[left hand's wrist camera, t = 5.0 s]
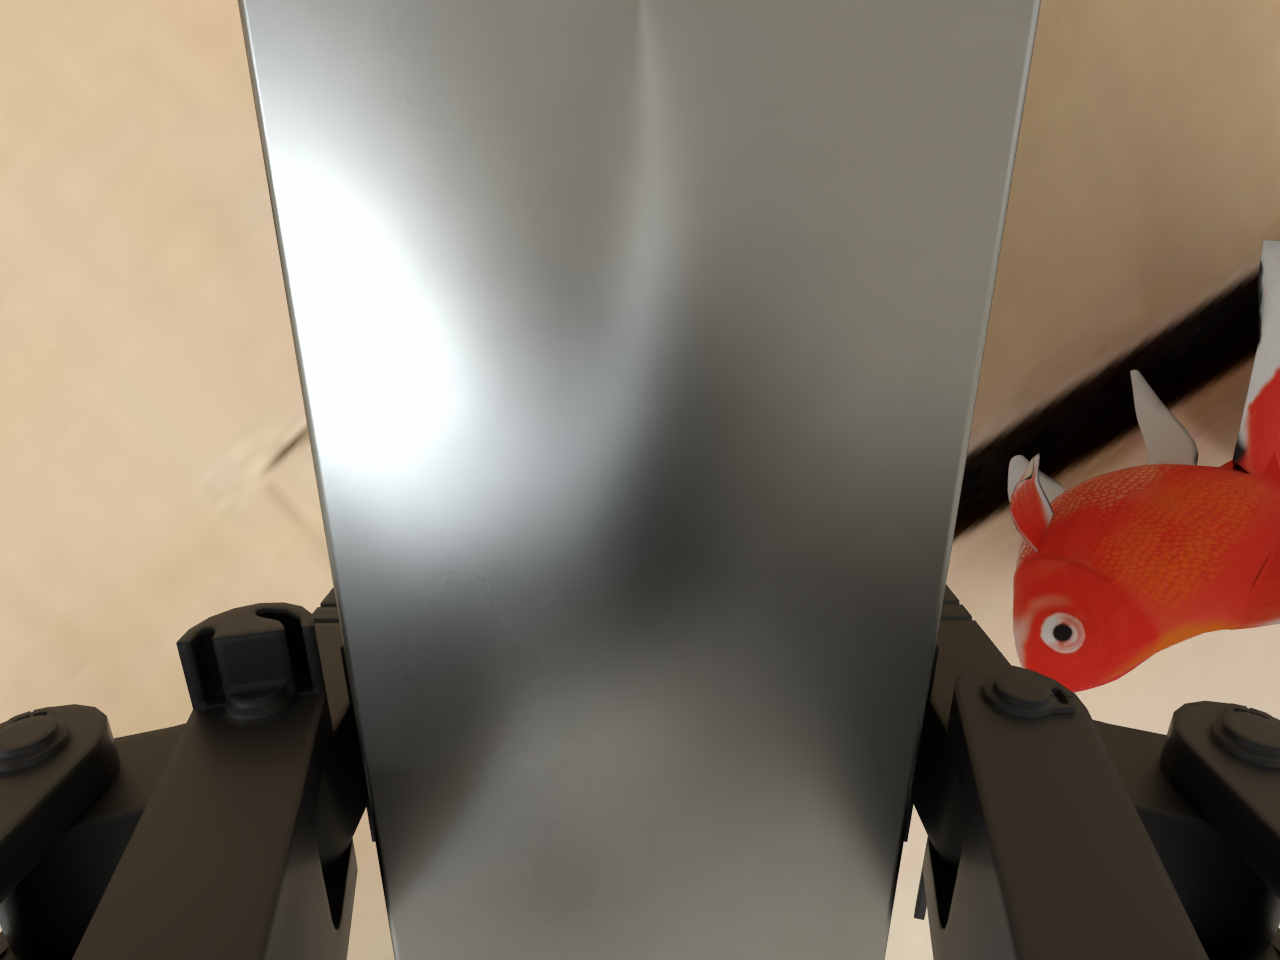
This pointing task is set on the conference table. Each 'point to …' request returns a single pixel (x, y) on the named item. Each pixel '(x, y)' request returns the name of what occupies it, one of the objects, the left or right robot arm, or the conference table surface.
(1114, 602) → the fish
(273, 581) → the conference table surface
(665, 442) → the bar
